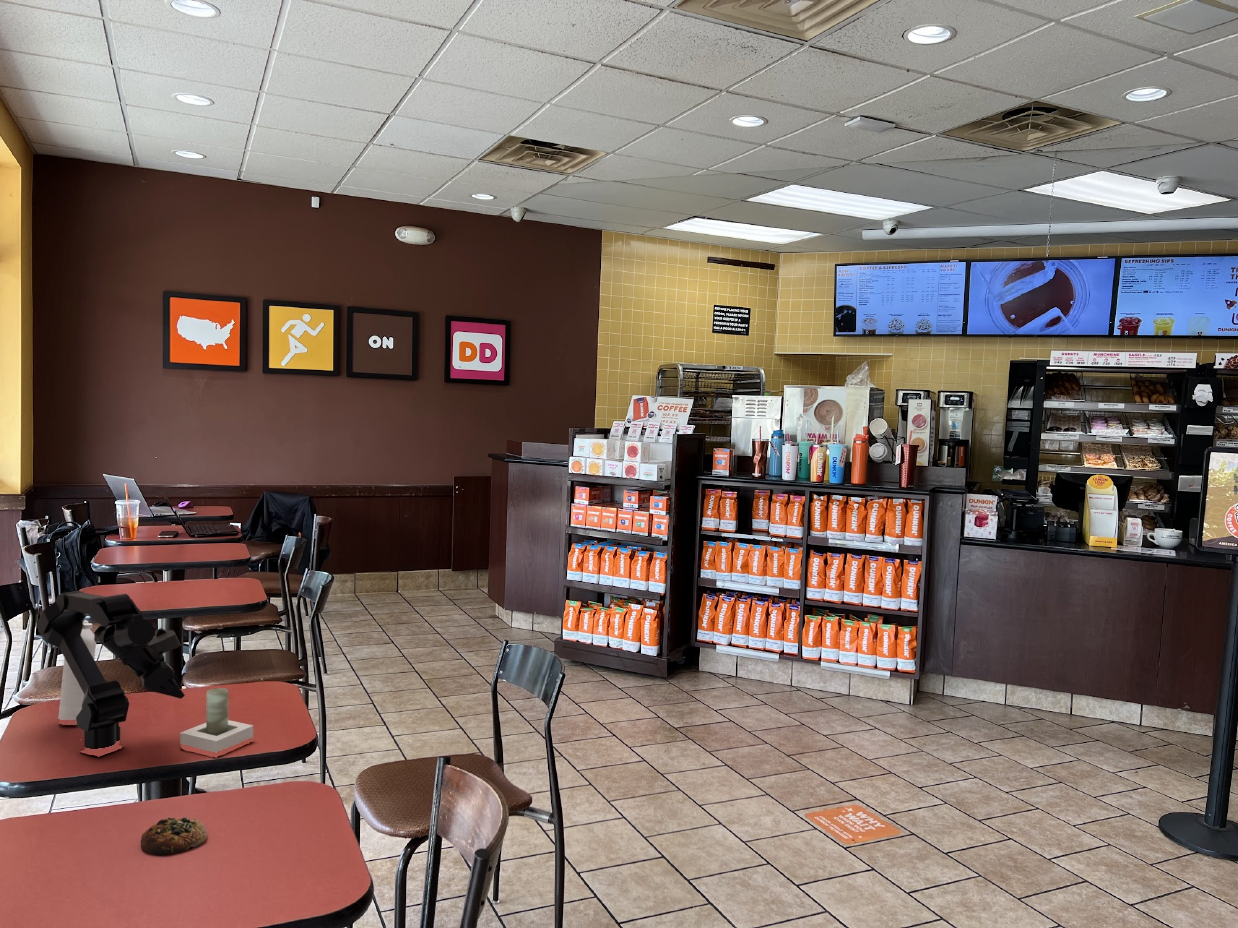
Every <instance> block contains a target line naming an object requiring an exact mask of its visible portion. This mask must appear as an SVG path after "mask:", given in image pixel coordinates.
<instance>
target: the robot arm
mask: <svg viewBox="0 0 1238 928" xmlns="http://www.w3.org/2000/svg"><path fill="white" fill-rule="evenodd" d="M87 615H90V619H91V620H92V621H94V622H95V623H98V624H99V626H98V627H97V628H96V629H95V631H93V635H94V636H95V637H94V641H95V642H96V643H99V644H101V645H102V646H103V647H105V648H106V649H107V650H108V651H109V652H111V654H113V655H114V656H115V657H116V658H117V659H118V660H120V662H121V663H122V664H123V665H124V666H127V667H128V668H129V669H130V670H131V671H132V672H134V674H135V675H136V676H137V677H138V678H141V684H142V686H143V688H145V689H146V690H147V691H148V692H150V693H156V694H161V695H165V696H169V697H174V698H177V699H180V700H181V699H182V698H184V697H185V696H186V695H185V694H184V692H183V690H182V689H181V688H180V686H179V685H178V682H177V681H176V680H175V679H174V673H175V671H174V669H173V667H171V666H170V664H169V663H167V662H166V661H165V656H164V655H163V654H165V653H168V652H169V651H171V650H173V649H178V648H179V647H181V643H180V640H179V638H178V636H177V634H176V632H175V630H172V629H169V630H165V628H163V627H160V628H158V629H156V630H155V626H153V624H152V622H151V621H149V620H148V619H145V618H144V616H143V611H141V610H140V608H138V606H137V605H136V604H135V602H134V600H133V599H132V598H131V596H130V595H129V594H127V593H121V594H120V593H119V594H114V595H107V596H103V595H98V594H93V593H89V592H88V593H87V592H84V591H83V590H82V591H81V590H76V591H75V590H74V591H68V592H62V593H61V594H58V595H57V597H56V599H55V600H54V602H52V603H51V604H49V605H48V606H47V607H45V608H44V609H43V610H42V612H41V614H40V616H39V618H38V620H37V631H38V633H39V634H40V635H41V636H42V637H43V639H44V640H45V642H46V643H47V644H49V645H52V646H54V647H55V648H58V649H59V650H60V652H61V653H62V655H63V657H64V658H65V659H66V661H67V663H68V665H69V667H70V669H71V670H72V672H73V674H74V676H75V678H76V680H77V681H78V683H79V685H80V687H81V689H82V691H83V693H84V698H83V702H82V710H81V711H80V713H79V714H78V715H77V717H76V722H77V726H76V727H77V728H78V729H81V730H83V732H84V733H83V735H84V737H83V738H84V741H83V745H84V747H86V748H90V749H98V748H105V747H109V746H112V745H114V744H115V743H116V741H119V740H120V741H121V726H120V723H122V722H123V723H124V722H126V721H127V715H128V712H129V707H130V702H129V698H128V696H127V695H125V694H126V692H125V691H124V689H122V686H121V684H120V682H119V680H118V681H117V680H116V679H115V680H114V679H113V680H110V681H107V680H106V678H105V676H104V675H103V673H102V671H101V670H100V667H99V666H98V664H97V662H96V660H95V659H94V658H93V657H92V655H91V653H90V651H89V649H88V648H87V646H86V644H85V642H84V640H83V639H82V637H81V632H82V628H83V621H84V620H86V617H87ZM84 747H83V748H84Z"/></svg>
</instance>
